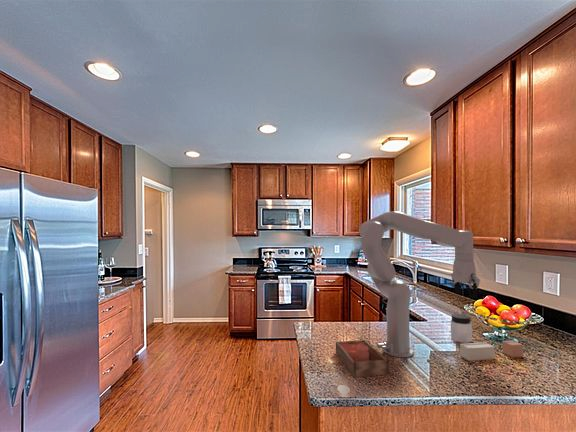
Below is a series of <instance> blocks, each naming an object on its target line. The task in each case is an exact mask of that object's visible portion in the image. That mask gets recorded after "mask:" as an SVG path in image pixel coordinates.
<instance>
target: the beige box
mask: <svg viewBox="0 0 576 432" xmlns="http://www.w3.org/2000/svg"><path fill="white" fill-rule="evenodd" d="M459 353H460V354H459V355H460V357H461V358H463V359H465V360H467V361H480V360H481V361H482V360H496V356H495V346H494V345H491V344H490V343H487V342H473V343H472V342H469V343H459Z"/></svg>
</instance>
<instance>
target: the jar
mask: <svg viewBox="0 0 576 432" xmlns="http://www.w3.org/2000/svg"><path fill="white" fill-rule="evenodd" d="M471 319H472V318H471V316H469V315H466V314H462V313H460V314H459V313H453V314H451V319H450V338H451V340H452V341H455V342H459V343H462V344H468V343H472V342H473V326H472V322H471V321H472V320H471Z"/></svg>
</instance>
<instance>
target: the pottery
mask: <svg viewBox="0 0 576 432" xmlns="http://www.w3.org/2000/svg"><path fill="white" fill-rule="evenodd" d="M340 345H341V346H342V347H343V349H344V350H345V351H346V352H347V353H348V354H349V356H350V357H351V358H352V359H353V360H354V361H355V362H364V361H371V360H370V357H369V352H368V349H369V348H368V346H366V345H364V342H360V343H355V344H340Z"/></svg>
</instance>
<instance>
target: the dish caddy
mask: <svg viewBox="0 0 576 432" xmlns="http://www.w3.org/2000/svg"><path fill="white" fill-rule="evenodd" d="M360 342H364V345H366V346H368V348H369V349H368V352H369V357H368V358H369V359H371V360H370V361H364V362H355V361H354V360H353V359H352V358H351V357H350V356H349V354H348V353H347V352H346V351H345V350H344V349H343V347H342V346H341V345H340V344H355V343H360ZM335 354H336V355H337V356H338V358H339V359H340V361H341V362H342V363H343V365H344V366H345V368H346V369H348V371H349V373H350V374H351V375H352V377H354V378H356V377H371V376H381V375H382V376H383V375H389V360H388V359H387V358H386V357H384V355H382V354H381V352H379V351H378V350H377V349H376V348H375V347H373V346H372V345H371V344H370V343H369V342H368V341H367V340H366V339H359V340H356V339H355V340H342V341H341V340H340V341H335Z"/></svg>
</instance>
